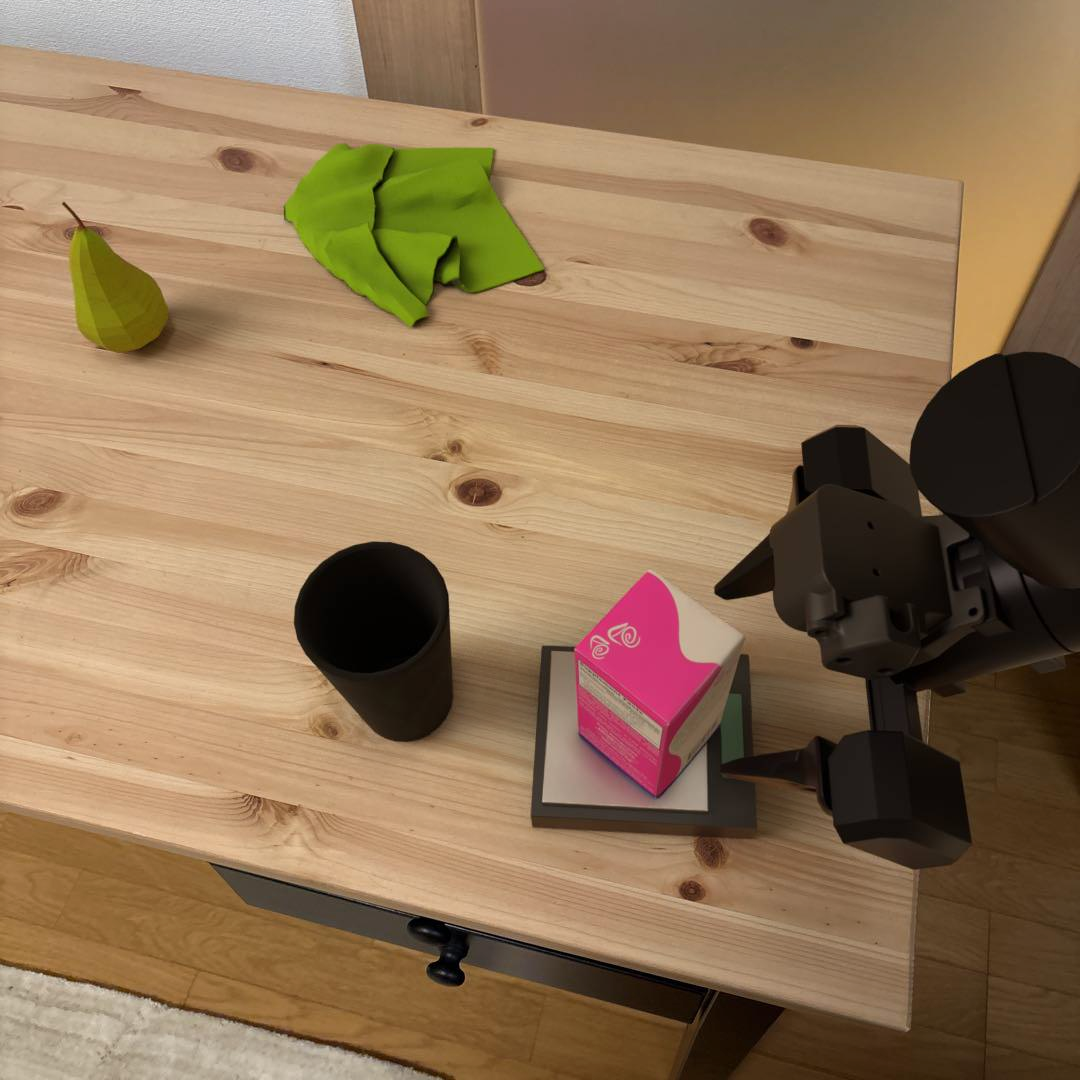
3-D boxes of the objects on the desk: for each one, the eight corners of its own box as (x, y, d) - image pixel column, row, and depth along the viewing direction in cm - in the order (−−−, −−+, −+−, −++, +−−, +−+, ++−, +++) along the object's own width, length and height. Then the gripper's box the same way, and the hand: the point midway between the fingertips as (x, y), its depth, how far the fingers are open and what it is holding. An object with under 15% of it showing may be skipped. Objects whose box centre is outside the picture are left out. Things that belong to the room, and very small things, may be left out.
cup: (495, 675, 60) (478, 582, 50) (424, 783, 57) (390, 708, 47) (390, 617, 62) (353, 517, 52) (316, 719, 59) (261, 633, 49)
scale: (743, 670, 60) (750, 649, 57) (750, 839, 55) (759, 825, 52) (542, 661, 61) (541, 640, 58) (532, 827, 56) (529, 813, 53)
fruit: (143, 380, 73) (71, 256, 62) (76, 352, 74) (-4, 226, 64) (196, 320, 75) (136, 192, 65) (131, 294, 77) (62, 165, 67)
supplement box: (639, 659, 57) (652, 562, 47) (722, 725, 55) (755, 638, 45) (571, 732, 55) (571, 646, 45) (656, 803, 53) (675, 730, 43)
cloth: (314, 135, 86) (308, 111, 84) (568, 155, 83) (567, 130, 81) (243, 313, 76) (234, 290, 73) (530, 340, 73) (528, 317, 71)
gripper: (907, 288, 38) (611, 448, 48) (986, 765, 29) (598, 839, 39) (1038, 419, 45) (752, 536, 55) (1138, 845, 35) (770, 891, 45)
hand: (721, 678), depth 48 cm, fingers open, 9 cm apart
